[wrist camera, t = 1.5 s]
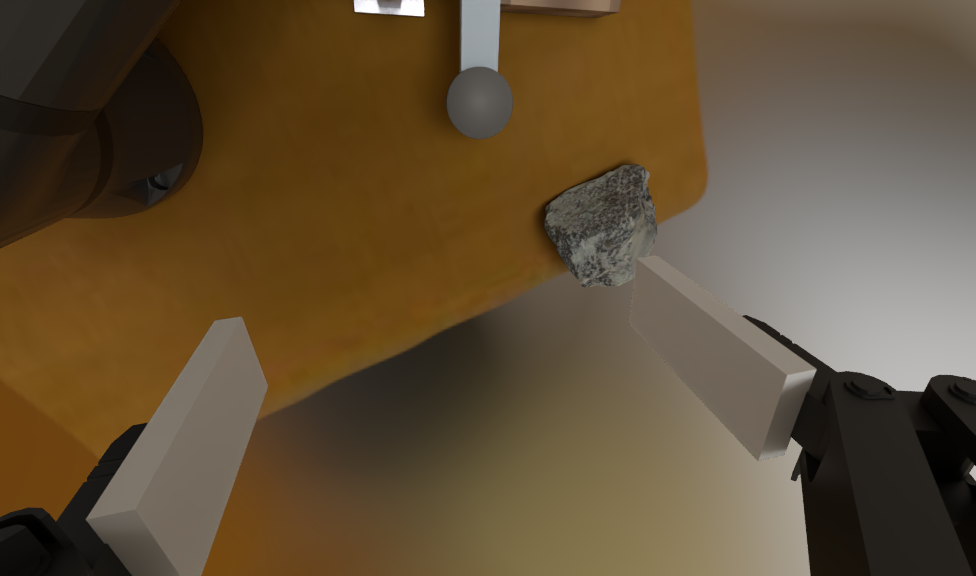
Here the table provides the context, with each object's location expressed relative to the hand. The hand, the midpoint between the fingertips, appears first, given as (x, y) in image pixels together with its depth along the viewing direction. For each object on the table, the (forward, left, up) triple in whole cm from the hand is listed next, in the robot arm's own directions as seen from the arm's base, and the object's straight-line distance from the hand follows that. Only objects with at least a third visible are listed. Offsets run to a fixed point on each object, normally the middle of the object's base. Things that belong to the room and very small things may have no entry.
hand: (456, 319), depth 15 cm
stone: (+16, -5, -27) cm, 32 cm away
